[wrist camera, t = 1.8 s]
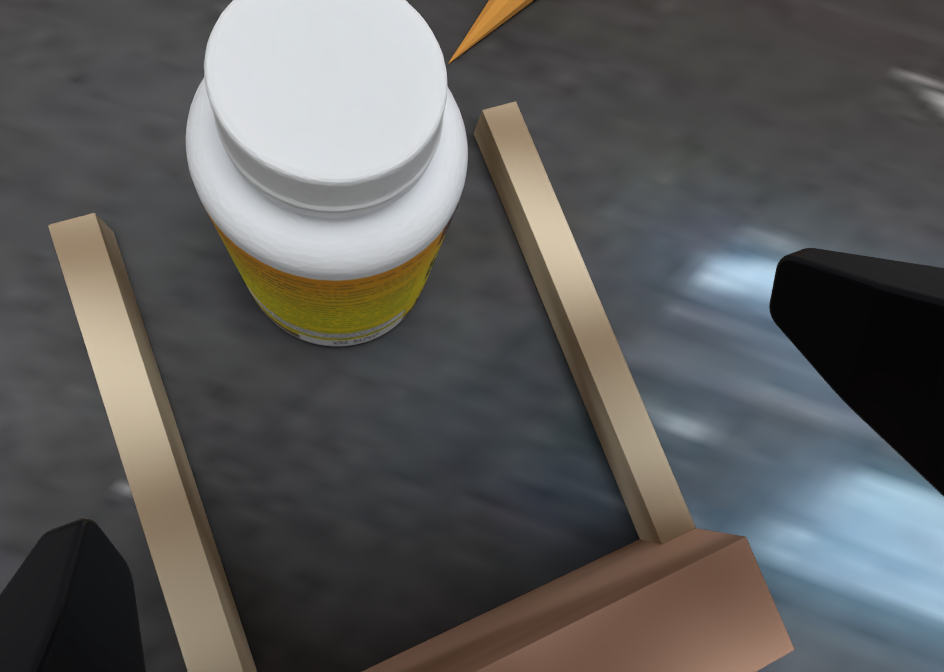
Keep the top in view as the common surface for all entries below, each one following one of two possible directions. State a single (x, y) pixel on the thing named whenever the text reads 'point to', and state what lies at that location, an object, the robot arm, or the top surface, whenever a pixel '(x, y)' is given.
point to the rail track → (524, 618)
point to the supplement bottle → (328, 159)
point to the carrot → (490, 21)
